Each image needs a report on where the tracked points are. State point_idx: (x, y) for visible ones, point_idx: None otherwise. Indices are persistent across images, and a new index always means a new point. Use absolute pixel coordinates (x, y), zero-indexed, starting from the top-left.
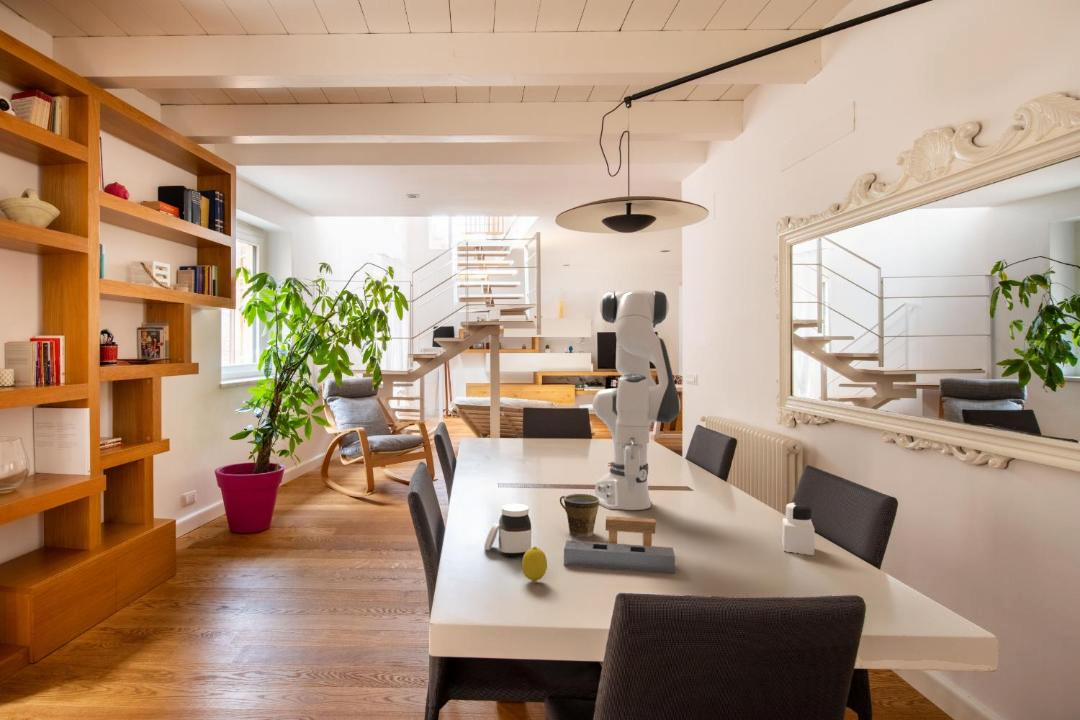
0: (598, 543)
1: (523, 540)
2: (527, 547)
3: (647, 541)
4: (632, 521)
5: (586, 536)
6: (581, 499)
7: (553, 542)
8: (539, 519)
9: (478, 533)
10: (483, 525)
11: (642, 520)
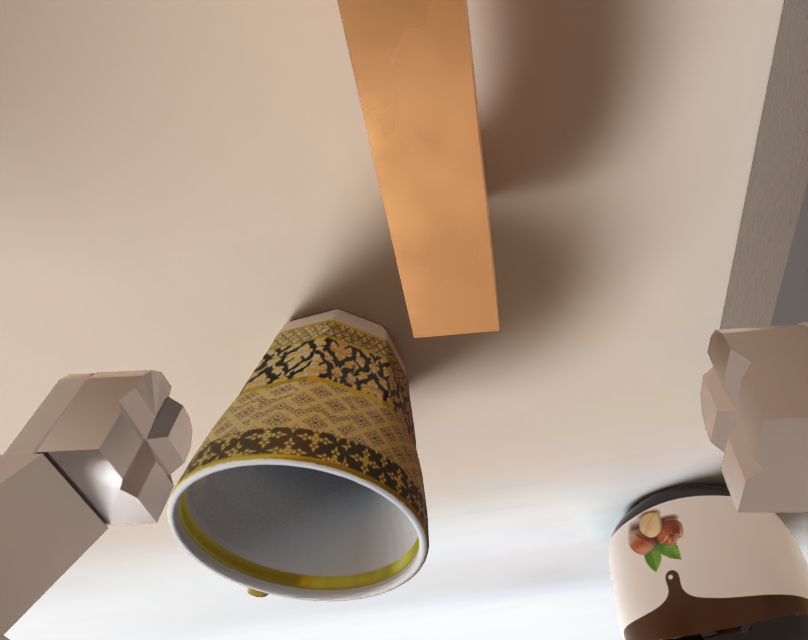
0: (803, 276)
1: (805, 564)
2: (777, 521)
3: None
4: (475, 117)
5: (386, 332)
6: (204, 514)
7: (521, 434)
8: None
9: (497, 614)
10: (408, 617)
11: (423, 12)
